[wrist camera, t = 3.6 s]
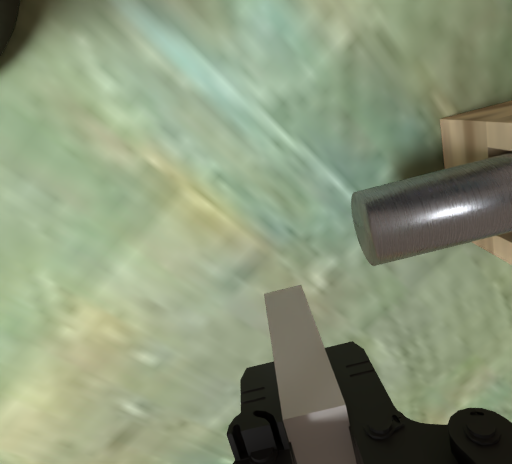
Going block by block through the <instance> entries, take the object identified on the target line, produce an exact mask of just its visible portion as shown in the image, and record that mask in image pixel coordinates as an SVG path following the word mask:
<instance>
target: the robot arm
mask: <svg viewBox="0 0 512 464" xmlns="http://www.w3.org/2000/svg"><path fill="white" fill-rule="evenodd" d="M19 2H20V0H0V55H1V54H2V52H3V50H4V49H5V47H6V45H7V43H8V41H9V39H10V37H11V34H12V32H13V29H14V26H15V22H16V19H17V14H18V9H19ZM264 297H265V304H266V310H267V317H268V324H269V331H270V337H271V344H272V351H273V357H274V362H270V363H266V364H262V365H258V366H254V367H249V368H246V370H245V372H244V374H243V376H242V378H241V413H240V414H239V415H238V416H236V417H235V418H234V419H233V421H232V422H231V424H230V425H229V428H228V431H227V437H228V440H229V443H230V446H231V449H232V452H233V455H234V458H235V461H234V463H233V464H512V423H511V422H510V421H509V420H507V419H506V418H504V417H503V416H501V415H499V414H497V413H496V412H493V411H490V410H486V409H483V408H467V409H463V410H459V411H457V412H456V413H455V414H454V415H452V416H451V417H450V420H449V422H448V425H438V424H425V423H419V422H416V421H413V420H410V419H408V418H407V417H405V416H404V415H403V414H402V413H401V412H399V411H397V409H396V408H395V406H394V405H393V403H392V401H391V399H390V398H389V396H388V394H387V392H386V390H385V388H384V386H383V384H382V383H381V381H380V379H379V377H378V375H377V373H376V371H375V370H374V368H373V366H372V364H371V362H370V360H369V358H368V356H367V354H366V353H365V351H364V349H363V348H361V347H360V346H358V345H357V344H355V343H354V342H353V341H352V342H348V343H344V344H340V345H336V346H331V347H327V348H324V345H323V343H322V340H321V337H320V334H319V332H318V329H317V326H316V324H315V321H314V318H313V316H312V313H311V310H310V308H309V305H308V302H307V299H306V297H305V294H304V291H303V289H302V286H301V285H298V286H294V287H290V288H286V289H282V290H278V291H274V292H270V293H266V294H264Z"/></svg>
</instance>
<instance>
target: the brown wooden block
mask: <svg viewBox="0 0 512 464" xmlns="http://www.w3.org/2000/svg"><path fill="white" fill-rule="evenodd" d="M440 125H441V136H442V146H443V157H444V167H445V169H448V168H451V167H455V166H459V165H463V164H467V163H471V162H475V161H479V160H483V159H487V158H491V157H495V156H499V155H503V154H507V153H511V152H512V101H508V102H504V103H500V104H496V105H492V106H489V107H485V108H481V109H477V110H473V111H469V112H465V113H461V114H457V115H454V116H450V117H446V118H442V119H440ZM472 243H474V244H476V245H478V246H479V247H481V248H483V249H485V250H486V251H488V252H490V253H492V254H493V255H495V256H497V257H499V258H501V259H502V260H504V261H506V262H508V263H509V264H511V265H512V232H509V233H505V234H501V235H497V236H493V237H489V238H484V239H480V240H476V241H472Z"/></svg>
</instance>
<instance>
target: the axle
mask: <svg viewBox="0 0 512 464" xmlns="http://www.w3.org/2000/svg"><path fill="white" fill-rule="evenodd" d="M351 209H352V217H353V222H354V227H355V231H356V234H357V238H358V241H359V244H360V246H361V249H362V251H363V253H364V255H365V257H366V259H367V260H368V262H369V263H370V264H371V265H373V266H376V265H380V264H384V263H388V262H392V261H396V260H400V259H404V258H408V257H412V256H416V255H420V254H424V253H428V252H432V251H436V250H440V249H444V248H448V247H452V246H456V245H460V244H464V243H468V242H472V241H476V240H480V239H484V238H489V237H493V236H497V235H501V234H505V233H509V232H512V152H511V153H507V154H503V155H499V156H495V157H491V158H487V159H483V160H479V161H475V162H471V163H467V164H463V165H459V166H455V167H451V168H448V169H444V170H440V171H436V172H432V173H428V174H424V175H420V176H416V177H412V178H408V179H404V180H400V181H396V182H392V183H388V184H384V185H381V186H377V187H373V188H369V189H365V190H361V191H357V192H354V193H353V194H352V199H351Z"/></svg>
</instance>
